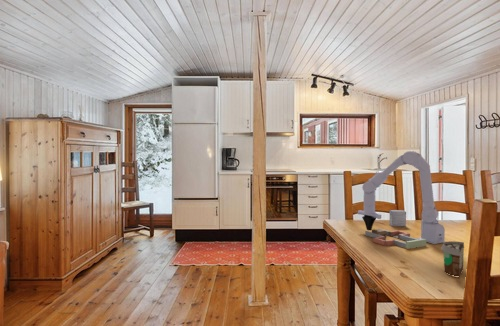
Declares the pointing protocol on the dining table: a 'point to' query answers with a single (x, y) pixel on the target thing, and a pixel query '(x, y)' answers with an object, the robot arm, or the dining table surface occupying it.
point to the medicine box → (397, 218)
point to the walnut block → (379, 232)
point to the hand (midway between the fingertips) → (369, 230)
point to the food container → (453, 257)
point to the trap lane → (400, 235)
